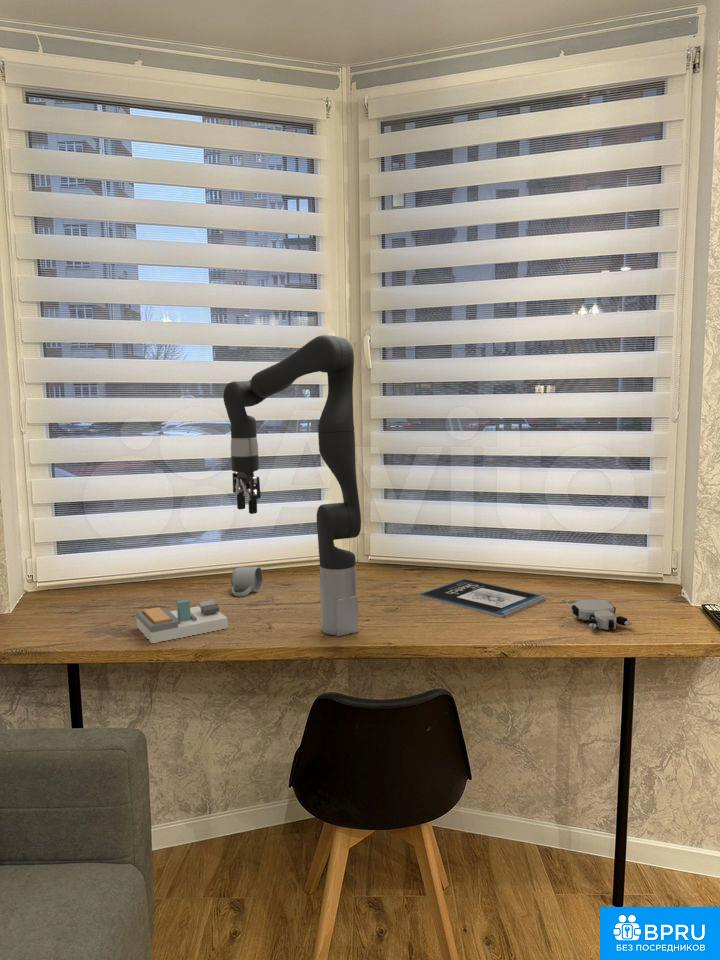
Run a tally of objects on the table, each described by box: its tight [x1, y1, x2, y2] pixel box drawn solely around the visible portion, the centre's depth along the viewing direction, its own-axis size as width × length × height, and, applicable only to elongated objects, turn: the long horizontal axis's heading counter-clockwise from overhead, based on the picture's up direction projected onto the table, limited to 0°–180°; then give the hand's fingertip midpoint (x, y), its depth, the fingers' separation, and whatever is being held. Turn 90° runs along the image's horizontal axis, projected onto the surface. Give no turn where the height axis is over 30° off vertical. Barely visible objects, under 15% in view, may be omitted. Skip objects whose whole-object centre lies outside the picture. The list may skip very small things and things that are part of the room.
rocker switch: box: [198, 599, 220, 614], centre depth 196 cm, size 5×4×2 cm
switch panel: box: [136, 605, 229, 644], centre depth 192 cm, size 14×20×5 cm
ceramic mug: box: [230, 566, 264, 598], centre depth 224 cm, size 11×8×8 cm
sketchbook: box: [419, 578, 547, 619], centre depth 214 cm, size 22×30×2 cm
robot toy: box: [566, 598, 633, 630], centre depth 191 cm, size 12×4×15 cm
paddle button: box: [142, 606, 171, 625], centre depth 189 cm, size 11×4×2 cm, turn 31°
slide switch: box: [176, 598, 191, 622], centre depth 190 cm, size 2×3×5 cm
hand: (247, 511), depth 205 cm, fingers open, 8 cm apart
